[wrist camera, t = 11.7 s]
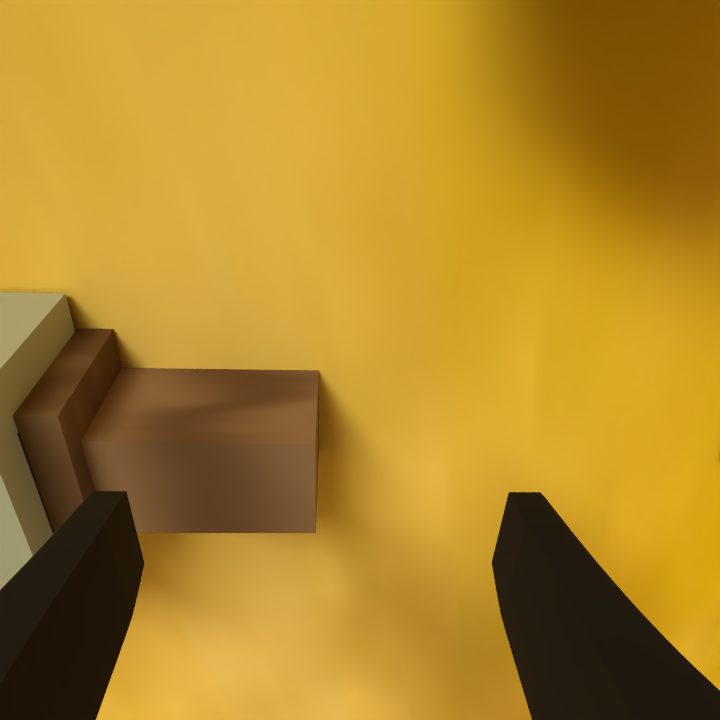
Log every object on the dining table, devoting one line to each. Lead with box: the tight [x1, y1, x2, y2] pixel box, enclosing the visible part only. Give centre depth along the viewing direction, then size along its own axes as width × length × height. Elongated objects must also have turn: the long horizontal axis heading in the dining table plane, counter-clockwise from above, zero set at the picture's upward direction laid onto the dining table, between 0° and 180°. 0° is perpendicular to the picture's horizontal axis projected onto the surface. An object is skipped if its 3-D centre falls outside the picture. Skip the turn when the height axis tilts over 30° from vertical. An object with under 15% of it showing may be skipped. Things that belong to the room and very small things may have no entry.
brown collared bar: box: [13, 328, 319, 533], centre depth 20 cm, size 13×7×5 cm, turn 88°
